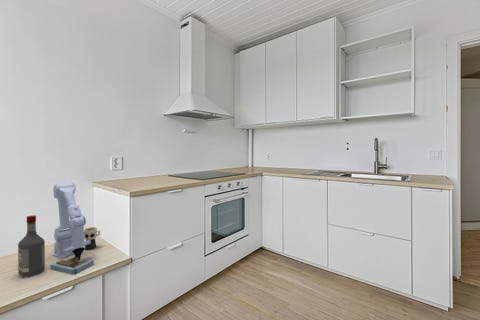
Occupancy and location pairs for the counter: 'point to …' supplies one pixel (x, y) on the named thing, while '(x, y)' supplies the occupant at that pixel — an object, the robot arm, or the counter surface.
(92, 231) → the character mug
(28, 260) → the liquor
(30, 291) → the counter surface
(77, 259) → the walnut tee
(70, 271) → the slate fence
